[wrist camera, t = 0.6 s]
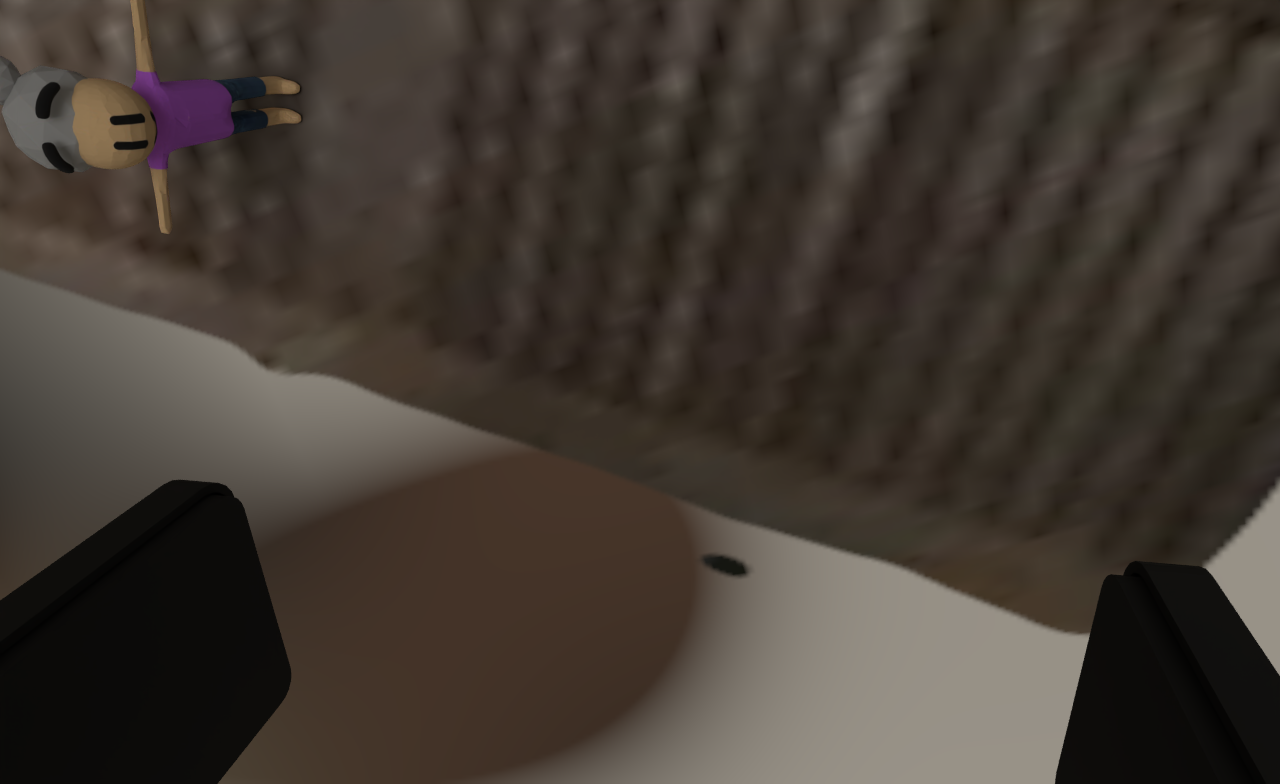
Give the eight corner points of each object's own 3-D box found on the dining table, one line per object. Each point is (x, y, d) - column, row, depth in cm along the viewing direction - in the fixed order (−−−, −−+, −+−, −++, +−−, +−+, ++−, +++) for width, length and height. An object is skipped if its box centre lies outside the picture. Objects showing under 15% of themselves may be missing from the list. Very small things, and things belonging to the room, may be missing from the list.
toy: (316, 200, 46) (106, 273, 33) (229, 184, 47) (-12, 248, 33) (308, -2, 41) (59, -14, 28) (211, -17, 42) (-76, -36, 29)
